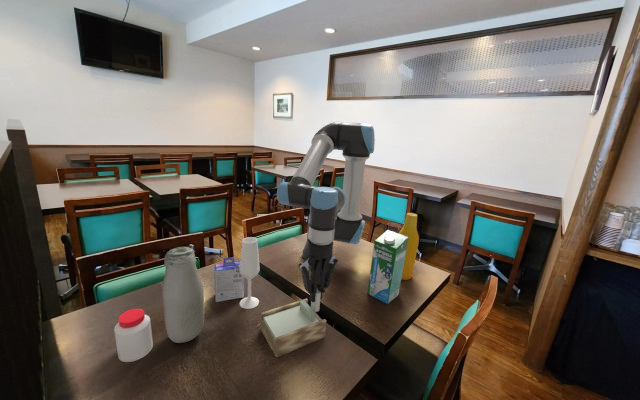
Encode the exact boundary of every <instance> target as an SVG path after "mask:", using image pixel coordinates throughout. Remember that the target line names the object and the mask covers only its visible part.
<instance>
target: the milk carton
mask: <svg viewBox="0 0 640 400" xmlns="http://www.w3.org/2000/svg"><path fill="white" fill-rule="evenodd" d="M398 233H399V232H398ZM398 233H397V232H395V231H391V230H389V229H386V230H385V231H384V232H383V233H382V234H381V235H380V236H379V237H377V238H376V239H375V240H374V245H373V249H372V257H371V265H370V272H369V278H368V287H367V295H369V296H372V297H373V298H375V299H377V300H379V301H381V302H382V303H384V304H385V305H389V304H390V303H391V302H392V301H394V299H396V298H397V297H398V296H399V293H400V288H401V283H402V282H401V281H402V279H401V278H402V272H403V267H404V261H405V255H406V250H407V244H408V238H409V237H407V236H404V235H401V234H398Z"/></svg>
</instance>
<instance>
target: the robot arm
mask: <svg viewBox="0 0 640 400" xmlns="http://www.w3.org/2000/svg"><path fill="white" fill-rule="evenodd" d="M375 141H376V139H375V129H374V126H373V125H372V124H368V123H363V122H362V123H360V122H344V121H335V122H334V121H333V122H331V123H328V124H326V125H324V126H323V127H321V128H320V129H319V130H318V131H317V132H315V134H314V135H313V137H312V139H311V141H310V142H311V145H310V147H309V149H308V151H307V153H306V154H305V155H304V158H303V159H302V161H301V163H300V165H298V168H297V169H296V171H295V173H294V174H293V176H292V177H291V180H290V181H282V182H280V183H279V184H278V186H277V191H276V198H277V201H278V203H279V204H282V205H285V206H288V207H297V208H304V209H309V214H308V221H307V231H306V232H307V235H306V242H305V245H304V248H303V250H302V252H301V253H302V254H301V257H302V258H303V259H304V260H305V261H304V262H303V263H301V262H300V263H299V264H298V268H299V269H300V271H301V276H302V282H303V287H304V288H303V289H304V291H306V292H307V293H308V294H309V301H310V307H311V308H312V309H313V310H314V312H315V313H317V312H319V311H320V308H321V307H320V304H321V300H322V299H323V294H325V293H326V290H325V289H328V288H329V287H330V284H331V280H332V277H333V273H334V269H335V266H337V263H338V262H339V260H338V259H337V258H336V257H335V256H334V253H333V250H334V242H339V243H345V244H350V245H351V244H352V245H358V244H359V243H360V242H361V239H362V236H363V232H364V228H365V226H366V220H364V219H363V214H361V212H360V210H361V202H362V193H363V186H364V185H363V184H364V177H365V176H364V174H365V167H366V161H367V160H368V159H370V157H371V154H374V151H375ZM335 150H336V151H337V150H338V151H342V154H341V155H342V157H344V160H345V161H344V171H343V172H344V173H343V180H342V181H343V183H342V188H340V187H339V186H330V187H328V186H315V185H314V183H315V182H316V179H317V177H318V175H319V173H320V171H321V169H322V167H323V166H324V163H325V161H326V159H327V157H328V155H329V154H331V153H332V152H333V151H335ZM309 268H310V271H309ZM309 272H310V273H309Z"/></svg>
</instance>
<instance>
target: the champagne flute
mask: <svg viewBox="0 0 640 400" xmlns="http://www.w3.org/2000/svg"><path fill="white" fill-rule="evenodd" d="M258 244H259V242H258V239H257V238H256V237H252V236H250V237H249V236H248V237H244V238H243V239H242V242H241V251H240V260H239V261H240V269H239V271H240V273H241V275H242V276H243V277H244V279H246V280H247V297H243V298H242V299H241V300H240V301H239V306H240V307H241V308H243V309H246V310H249V309H254V308H256V307H257V306H258V305H259V303H260V300H259V299H258V298H257V297H254V296H252V280H253V279H254V278H255V277H256V276H257V275H258V274H259V272H260V271H261V270H260V269H261V268H260V256H259V246H258Z"/></svg>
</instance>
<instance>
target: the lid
mask: <svg viewBox="0 0 640 400" xmlns="http://www.w3.org/2000/svg"><path fill="white" fill-rule="evenodd" d="M302 300H303V299H302ZM299 301H300V300H299ZM315 314H317V312H315V311H313V310H312V309H311V305H309V304H307V303H306V302H305V300H303V301H300V305H299V306H296V307H293V308H290V309H287V310H284V311H281V312H278V313H275V314H272V315H269V316H266V317H264V322H265V324H266V325H267V327H268V329H269V331H270V332H271V334H272V336H273V338H274V339H275V341H276V337H279V336H282V335H284V334H287V333H289V332H292V331H295V330H297V329H300V328H303V327H305V326H308V325H310V324H313V323H316V322H318V320H317V318H316V317H315Z"/></svg>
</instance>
